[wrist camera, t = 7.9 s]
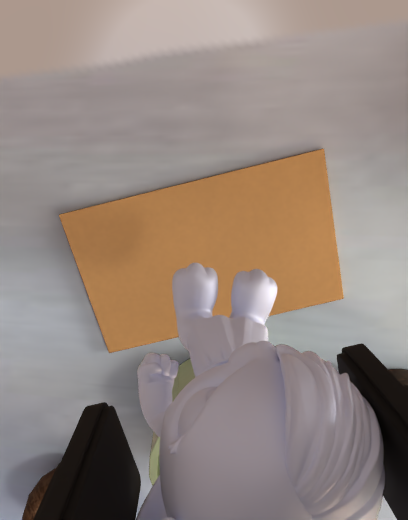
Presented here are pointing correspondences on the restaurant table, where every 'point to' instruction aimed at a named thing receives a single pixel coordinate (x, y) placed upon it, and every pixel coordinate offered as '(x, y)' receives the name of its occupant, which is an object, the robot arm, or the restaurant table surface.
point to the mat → (207, 245)
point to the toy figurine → (254, 418)
